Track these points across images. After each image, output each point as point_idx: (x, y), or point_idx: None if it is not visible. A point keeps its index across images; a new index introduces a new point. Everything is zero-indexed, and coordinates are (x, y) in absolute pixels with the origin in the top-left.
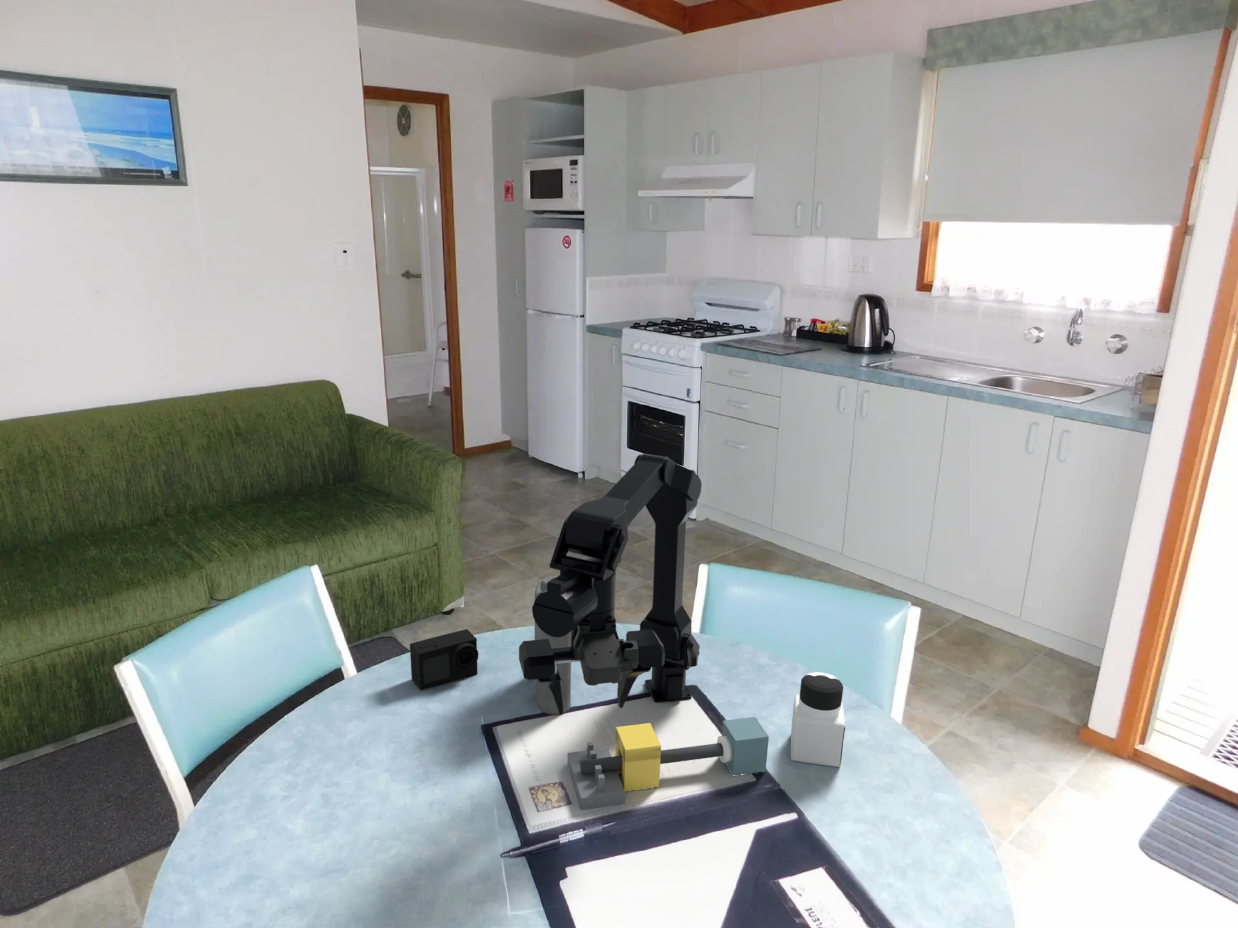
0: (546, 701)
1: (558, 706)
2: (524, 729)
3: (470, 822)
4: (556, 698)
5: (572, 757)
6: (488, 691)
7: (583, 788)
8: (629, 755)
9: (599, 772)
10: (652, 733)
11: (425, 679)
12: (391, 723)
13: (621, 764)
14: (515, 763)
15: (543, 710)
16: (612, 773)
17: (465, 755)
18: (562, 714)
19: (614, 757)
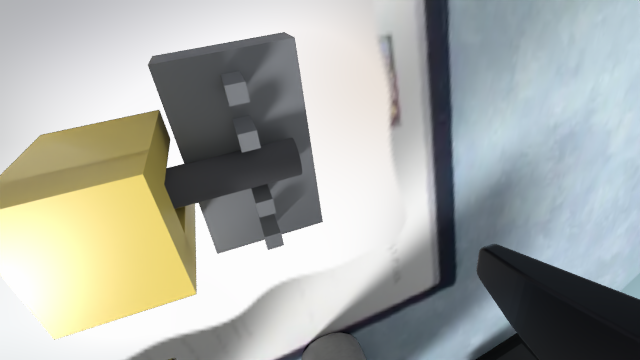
0: (356, 356)
1: (554, 270)
2: (387, 287)
3: (530, 2)
4: (634, 305)
5: (311, 207)
6: (431, 355)
7: (286, 84)
8: (127, 165)
9: (242, 128)
10: (28, 287)
11: (525, 350)
12: (570, 261)
13: (169, 173)
14: (415, 195)
15: (352, 337)
16: (199, 154)
17: (493, 207)
18: (484, 247)
19: (195, 193)
